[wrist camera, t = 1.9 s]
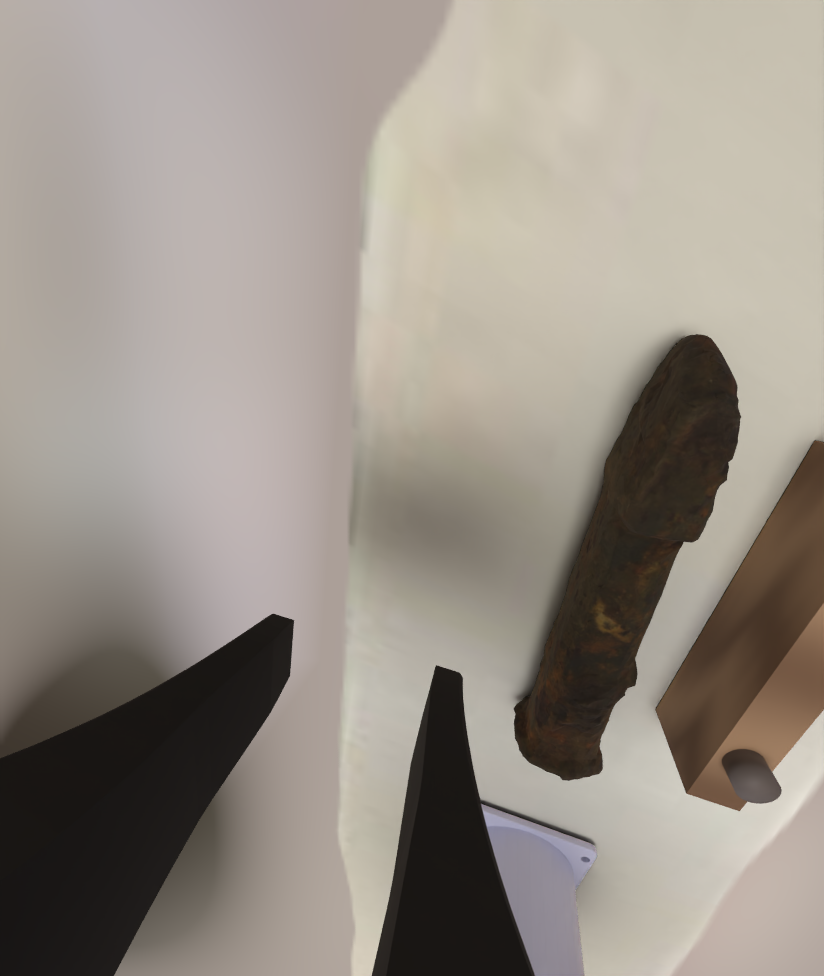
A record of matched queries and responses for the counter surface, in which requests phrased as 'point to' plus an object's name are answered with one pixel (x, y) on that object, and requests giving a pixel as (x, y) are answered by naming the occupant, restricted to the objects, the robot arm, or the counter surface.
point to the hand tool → (631, 554)
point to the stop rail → (756, 658)
